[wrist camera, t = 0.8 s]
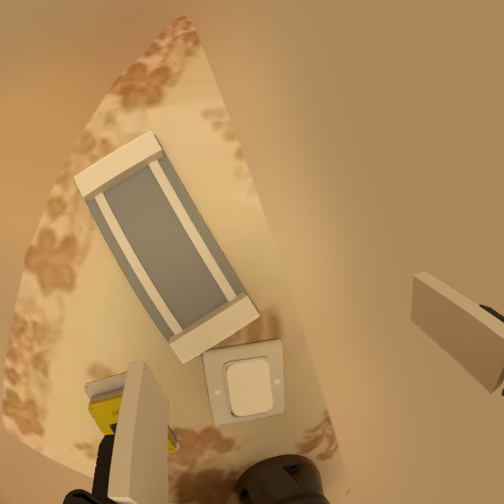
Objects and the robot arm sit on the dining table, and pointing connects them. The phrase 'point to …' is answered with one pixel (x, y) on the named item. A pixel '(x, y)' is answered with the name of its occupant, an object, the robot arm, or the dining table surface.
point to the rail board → (165, 247)
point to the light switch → (245, 381)
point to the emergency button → (113, 405)
